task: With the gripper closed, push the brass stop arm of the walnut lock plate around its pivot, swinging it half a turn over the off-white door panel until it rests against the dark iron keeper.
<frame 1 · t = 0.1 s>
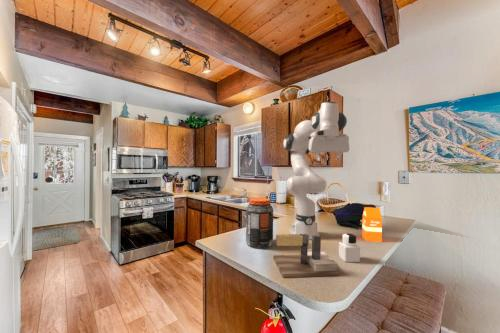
hand: (328, 161, 108), 48 cm above the counter, tool pointing down, fingers open, 8 cm apart
lock plate: (303, 266, 96), on the counter
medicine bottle: (348, 259, 105), on the counter
stop arm: (292, 239, 96), point 12 cm above the counter, hinge at 0.0°
navy cloth bag: (353, 227, 163), on the counter
orange juice: (371, 239, 135), on the counter
supplement tub: (259, 244, 124), on the counter
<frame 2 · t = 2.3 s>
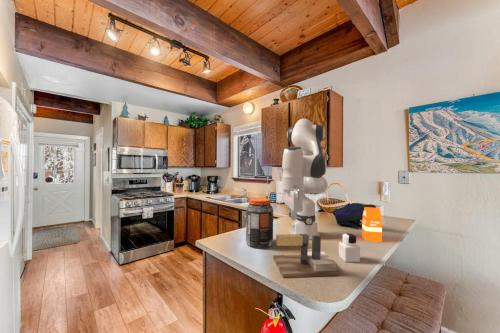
hand: (292, 218, 89), 23 cm above the counter, tool pointing down, fingers open, 4 cm apart
nothing on the counter moved.
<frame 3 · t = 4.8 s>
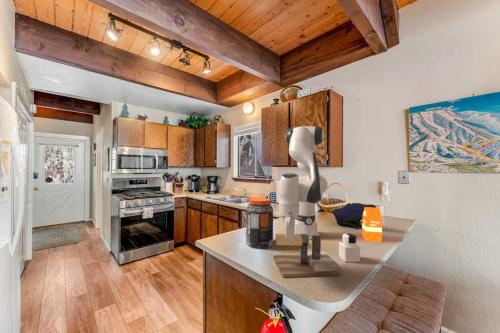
hand: (288, 242, 93), 12 cm above the counter, tool pointing down, fingers closed
stop arm: (292, 239, 96), point 12 cm above the counter, hinge at 4.8°, touching gripper
everything else where it was.
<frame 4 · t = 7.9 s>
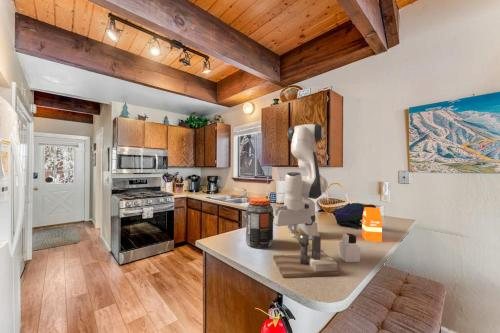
hand: (292, 233, 105), 12 cm above the counter, tool pointing down, fingers closed
stop arm: (300, 235, 102), point 12 cm above the counter, hinge at 92.9°, touching gripper
everything else where it was.
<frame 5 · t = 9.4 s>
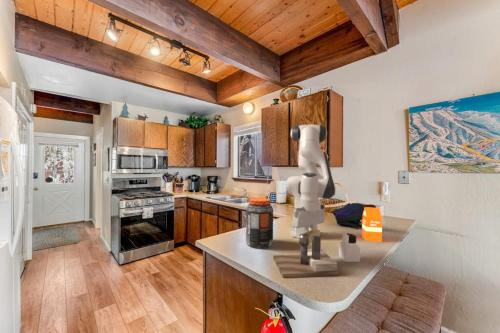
hand: (308, 234, 105), 12 cm above the counter, tool pointing down, fingers closed
stop arm: (309, 236, 100), point 12 cm above the counter, hinge at 138.9°, touching gripper
everything else where it was.
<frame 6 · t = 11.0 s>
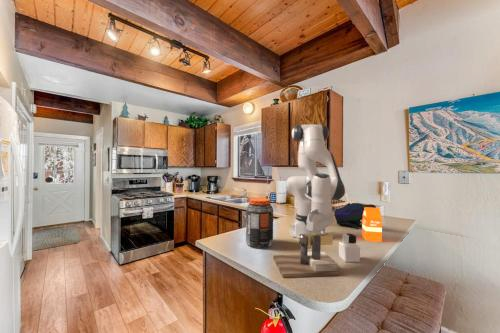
hand: (320, 237, 101), 12 cm above the counter, tool pointing down, fingers closed
stop arm: (315, 239, 97), point 12 cm above the counter, hinge at 180.6°, touching gripper
everything else where it was.
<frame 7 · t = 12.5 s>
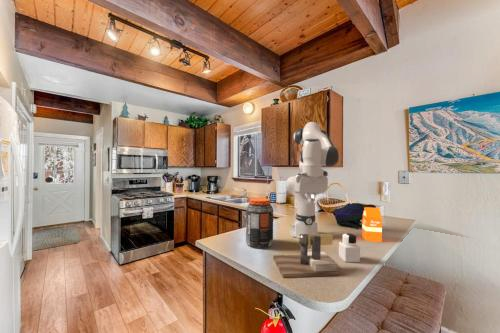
hand: (311, 201, 102), 28 cm above the counter, tool pointing down, fingers closed
stop arm: (315, 239, 97), point 12 cm above the counter, hinge at 180.6°
everything else where it was.
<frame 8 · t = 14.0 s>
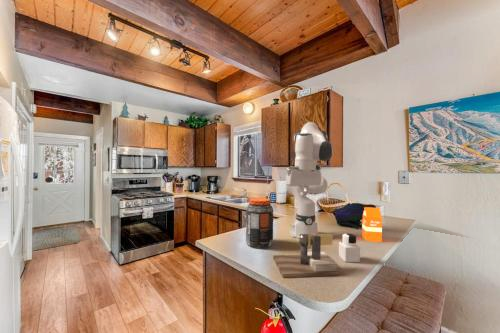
hand: (303, 195, 104), 31 cm above the counter, tool pointing down, fingers closed
nothing on the counter moved.
at the end: stop arm at +181° (first picture: +0°); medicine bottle moved 0.2 cm from its start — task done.
